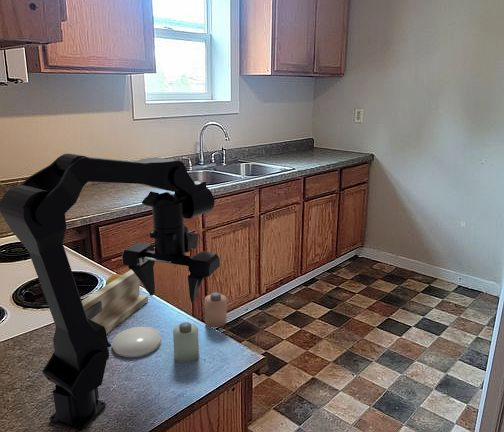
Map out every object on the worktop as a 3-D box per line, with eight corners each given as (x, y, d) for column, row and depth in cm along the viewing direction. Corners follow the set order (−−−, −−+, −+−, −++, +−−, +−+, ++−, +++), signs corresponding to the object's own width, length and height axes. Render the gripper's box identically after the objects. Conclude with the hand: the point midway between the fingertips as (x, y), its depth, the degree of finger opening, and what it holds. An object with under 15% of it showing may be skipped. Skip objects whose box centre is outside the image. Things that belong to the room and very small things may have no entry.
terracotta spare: (221, 329, 98) (221, 301, 96) (201, 325, 100) (201, 297, 98) (229, 318, 103) (229, 292, 101) (210, 315, 104) (210, 288, 102)
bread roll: (108, 282, 122) (107, 269, 120) (141, 281, 123) (140, 268, 122) (102, 296, 114) (101, 282, 113) (137, 294, 115) (136, 280, 114)
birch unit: (88, 347, 91) (84, 313, 89) (69, 342, 93) (65, 309, 91) (148, 301, 111) (146, 272, 109) (131, 297, 113) (128, 269, 110)
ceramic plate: (143, 361, 87) (143, 357, 86) (102, 351, 90) (102, 347, 90) (169, 335, 96) (169, 331, 95) (131, 327, 99) (131, 323, 99)
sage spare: (191, 365, 86) (190, 334, 84) (169, 359, 87) (167, 329, 85) (203, 351, 90) (202, 321, 88) (181, 346, 92) (180, 317, 90)
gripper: (229, 217, 87) (230, 288, 92) (148, 208, 93) (152, 275, 97) (206, 235, 77) (208, 313, 81) (117, 224, 83) (123, 298, 87)
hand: (172, 298), depth 87 cm, fingers open, 9 cm apart
